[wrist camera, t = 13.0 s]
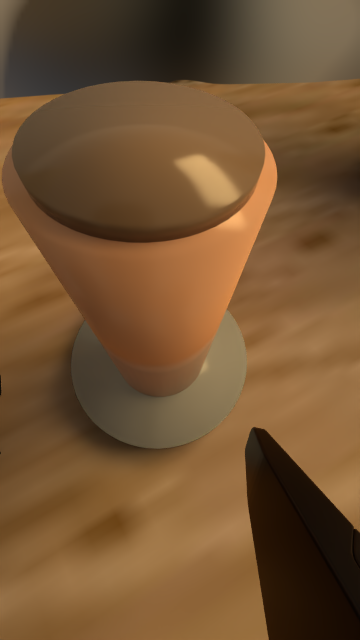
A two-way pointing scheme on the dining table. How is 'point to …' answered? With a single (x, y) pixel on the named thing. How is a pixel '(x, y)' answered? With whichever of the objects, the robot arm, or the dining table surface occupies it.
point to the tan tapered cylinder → (144, 216)
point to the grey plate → (159, 412)
